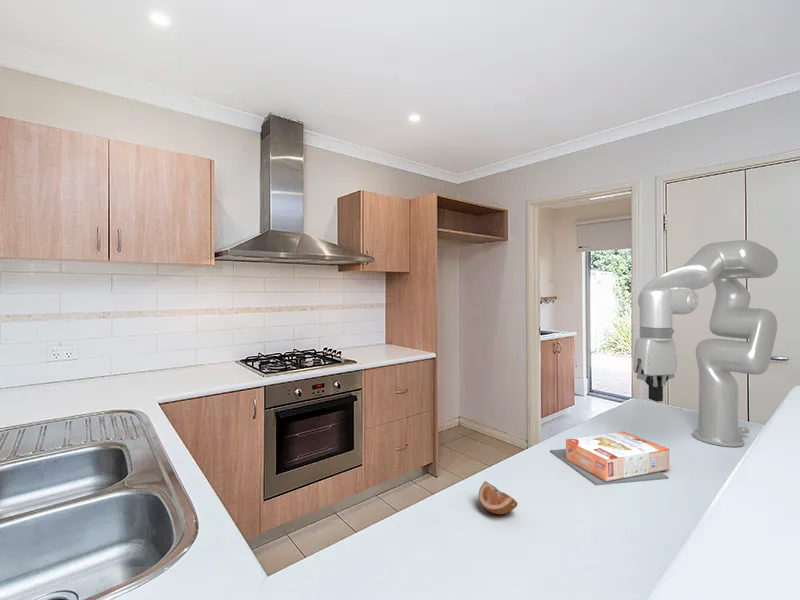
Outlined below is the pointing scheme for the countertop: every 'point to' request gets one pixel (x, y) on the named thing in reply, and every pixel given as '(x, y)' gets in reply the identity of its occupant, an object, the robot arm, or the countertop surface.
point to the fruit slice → (495, 499)
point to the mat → (598, 481)
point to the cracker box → (617, 455)
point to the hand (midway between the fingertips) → (655, 400)
